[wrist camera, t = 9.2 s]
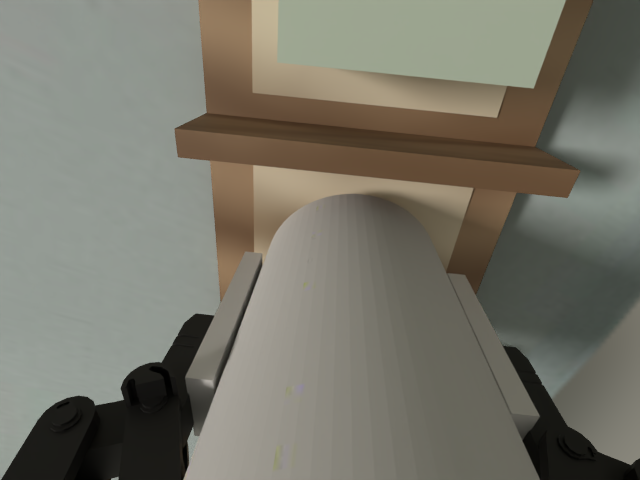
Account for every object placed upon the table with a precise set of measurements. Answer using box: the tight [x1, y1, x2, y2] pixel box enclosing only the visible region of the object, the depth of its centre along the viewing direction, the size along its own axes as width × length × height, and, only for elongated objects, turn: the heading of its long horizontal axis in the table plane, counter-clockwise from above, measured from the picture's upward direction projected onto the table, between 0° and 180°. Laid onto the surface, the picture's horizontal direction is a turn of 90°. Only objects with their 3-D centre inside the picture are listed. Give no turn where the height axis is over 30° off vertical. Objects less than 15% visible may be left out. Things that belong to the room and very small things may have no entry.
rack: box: [175, 0, 593, 301], centre depth 17 cm, size 37×14×4 cm, turn 175°
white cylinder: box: [183, 194, 540, 480], centre depth 11 cm, size 8×8×12 cm
